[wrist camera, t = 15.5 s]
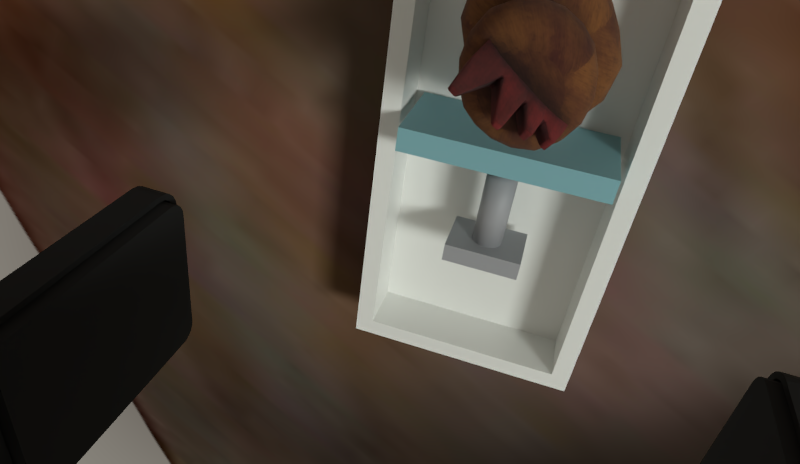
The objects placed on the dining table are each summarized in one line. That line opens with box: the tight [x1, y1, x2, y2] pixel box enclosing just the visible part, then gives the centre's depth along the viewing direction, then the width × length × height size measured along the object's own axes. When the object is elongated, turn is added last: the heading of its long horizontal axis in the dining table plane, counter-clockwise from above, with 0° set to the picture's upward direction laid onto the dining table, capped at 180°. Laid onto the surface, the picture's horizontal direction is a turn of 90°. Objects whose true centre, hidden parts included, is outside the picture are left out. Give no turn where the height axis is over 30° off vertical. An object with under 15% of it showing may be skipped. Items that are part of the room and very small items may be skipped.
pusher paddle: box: [395, 92, 621, 280], centre depth 31 cm, size 10×7×5 cm
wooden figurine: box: [448, 0, 622, 151], centre depth 23 cm, size 7×6×15 cm
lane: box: [356, 0, 722, 391], centre depth 32 cm, size 13×26×4 cm, turn 173°
